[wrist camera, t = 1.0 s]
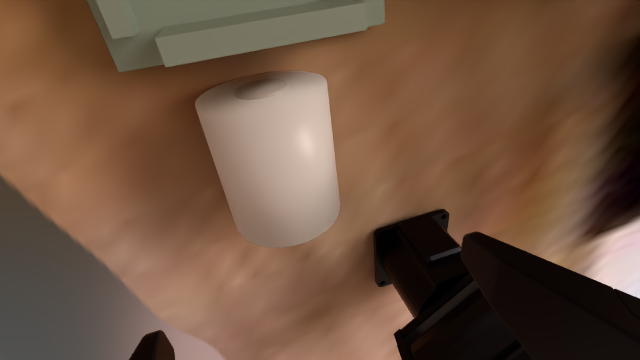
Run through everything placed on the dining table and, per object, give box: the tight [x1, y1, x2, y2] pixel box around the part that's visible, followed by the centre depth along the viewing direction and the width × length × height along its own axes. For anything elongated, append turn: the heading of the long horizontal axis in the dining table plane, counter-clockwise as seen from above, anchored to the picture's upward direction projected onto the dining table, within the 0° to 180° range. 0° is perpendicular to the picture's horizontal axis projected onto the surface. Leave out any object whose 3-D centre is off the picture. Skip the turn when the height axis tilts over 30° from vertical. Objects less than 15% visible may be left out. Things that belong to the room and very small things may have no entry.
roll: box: [195, 71, 340, 248], centre depth 17 cm, size 7×6×6 cm
